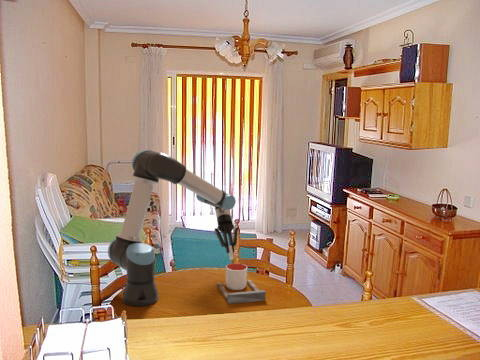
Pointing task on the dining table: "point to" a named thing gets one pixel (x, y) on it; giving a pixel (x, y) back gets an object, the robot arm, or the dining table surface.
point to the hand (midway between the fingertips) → (231, 258)
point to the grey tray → (243, 294)
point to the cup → (236, 276)
